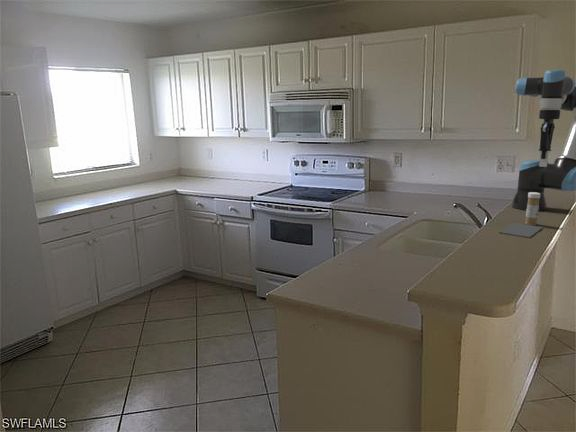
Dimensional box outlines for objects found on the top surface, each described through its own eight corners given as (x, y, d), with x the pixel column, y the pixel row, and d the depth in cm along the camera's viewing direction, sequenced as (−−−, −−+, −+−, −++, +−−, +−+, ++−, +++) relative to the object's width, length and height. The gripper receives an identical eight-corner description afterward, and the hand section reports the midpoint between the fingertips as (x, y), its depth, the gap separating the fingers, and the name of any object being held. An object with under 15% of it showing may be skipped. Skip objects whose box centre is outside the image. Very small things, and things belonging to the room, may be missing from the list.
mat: (514, 223, 202) (514, 222, 202) (542, 228, 195) (542, 227, 195) (499, 233, 188) (499, 232, 187) (529, 238, 181) (529, 237, 180)
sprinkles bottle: (529, 222, 204) (533, 191, 201) (539, 225, 201) (543, 193, 197) (522, 223, 203) (525, 192, 200) (531, 226, 199) (535, 194, 196)
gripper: (544, 109, 205) (537, 164, 210) (536, 109, 195) (529, 167, 200) (563, 109, 200) (556, 165, 205) (556, 109, 190) (548, 168, 196)
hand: (542, 166), depth 203 cm, fingers closed
